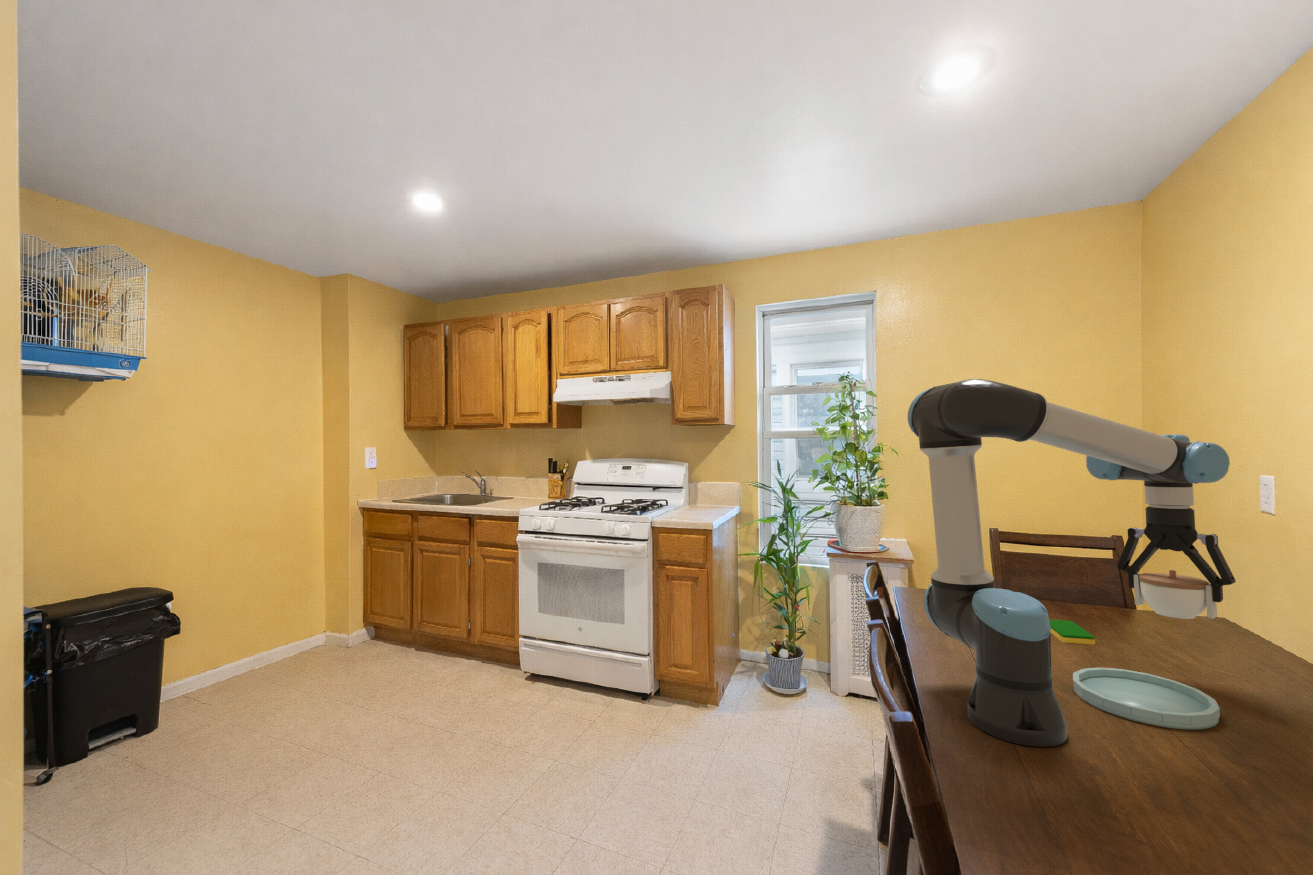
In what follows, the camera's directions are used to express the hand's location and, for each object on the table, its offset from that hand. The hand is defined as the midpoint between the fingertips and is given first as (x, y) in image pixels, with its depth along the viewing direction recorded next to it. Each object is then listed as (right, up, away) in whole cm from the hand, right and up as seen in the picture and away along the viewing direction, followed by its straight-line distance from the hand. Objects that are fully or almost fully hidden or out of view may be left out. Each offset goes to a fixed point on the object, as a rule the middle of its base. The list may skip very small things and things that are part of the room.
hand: (1174, 610), depth 112 cm
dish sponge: (+1, -17, +30) cm, 35 cm away
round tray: (-14, -16, -8) cm, 23 cm away
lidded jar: (0, -1, 0) cm, 1 cm away
